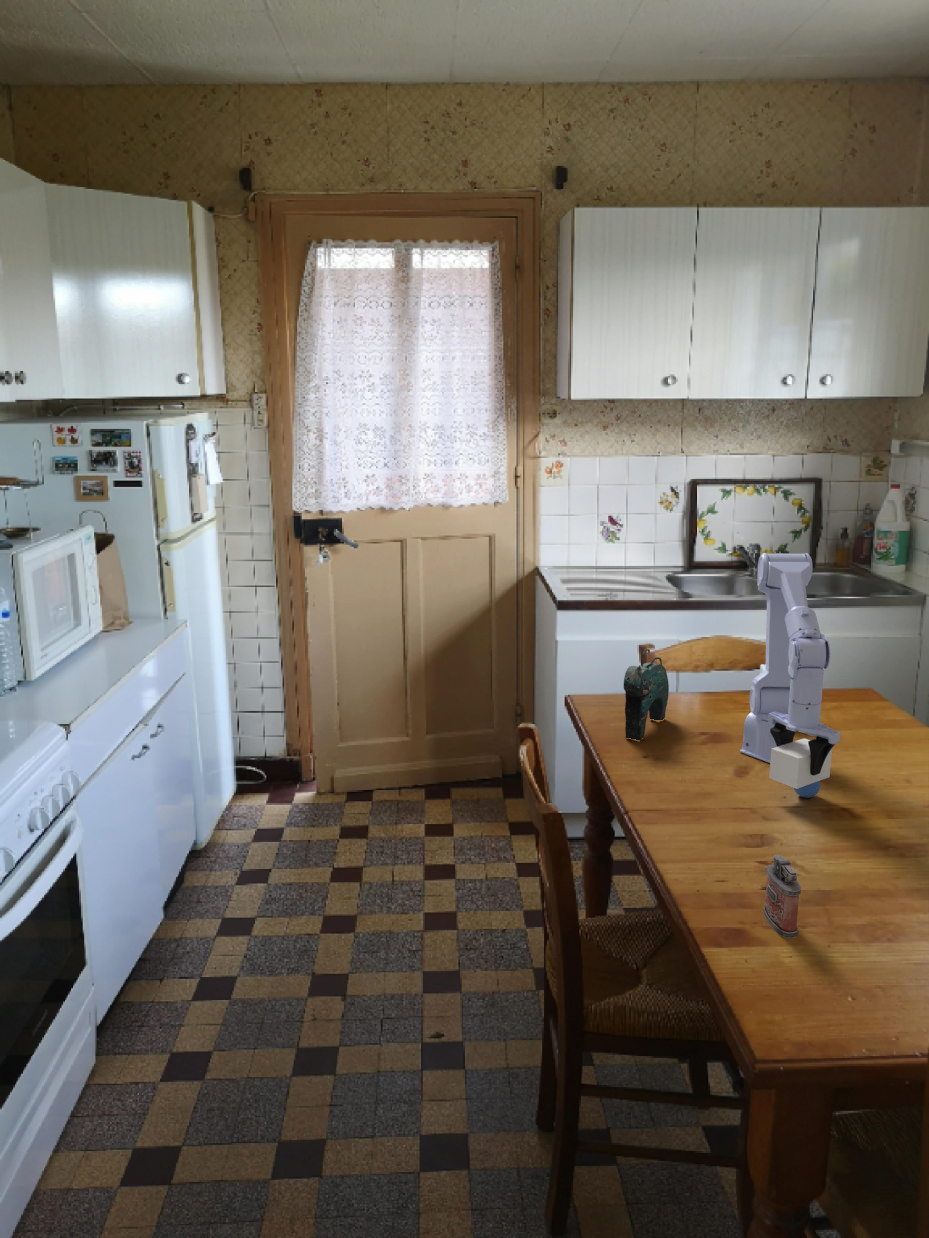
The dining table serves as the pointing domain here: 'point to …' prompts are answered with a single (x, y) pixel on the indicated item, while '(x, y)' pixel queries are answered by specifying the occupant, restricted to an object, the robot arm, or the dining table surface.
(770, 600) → the robot arm
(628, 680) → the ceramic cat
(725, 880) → the dining table surface
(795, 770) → the white cardboard carton
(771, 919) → the lighter
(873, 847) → the dining table surface
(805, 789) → the ball
